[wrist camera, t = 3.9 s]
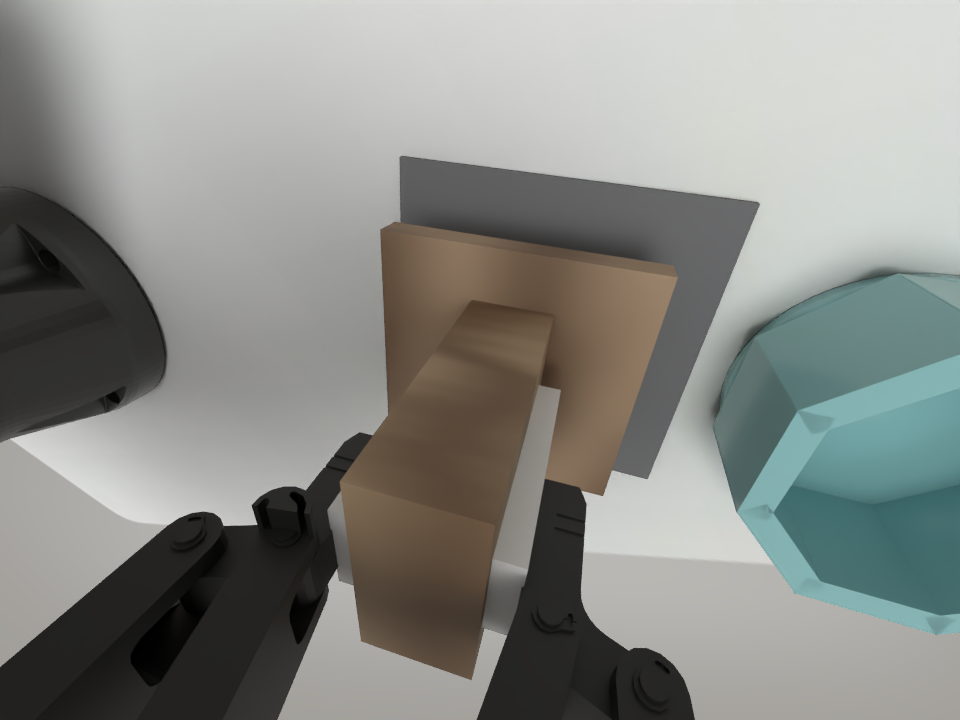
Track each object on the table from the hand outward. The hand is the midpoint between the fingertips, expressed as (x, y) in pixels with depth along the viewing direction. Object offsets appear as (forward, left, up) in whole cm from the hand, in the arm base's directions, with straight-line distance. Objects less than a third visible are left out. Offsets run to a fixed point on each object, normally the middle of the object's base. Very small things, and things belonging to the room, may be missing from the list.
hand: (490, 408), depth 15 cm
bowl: (+15, 0, -7) cm, 16 cm away
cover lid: (0, 0, -3) cm, 3 cm away
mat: (+1, 0, -7) cm, 7 cm away
